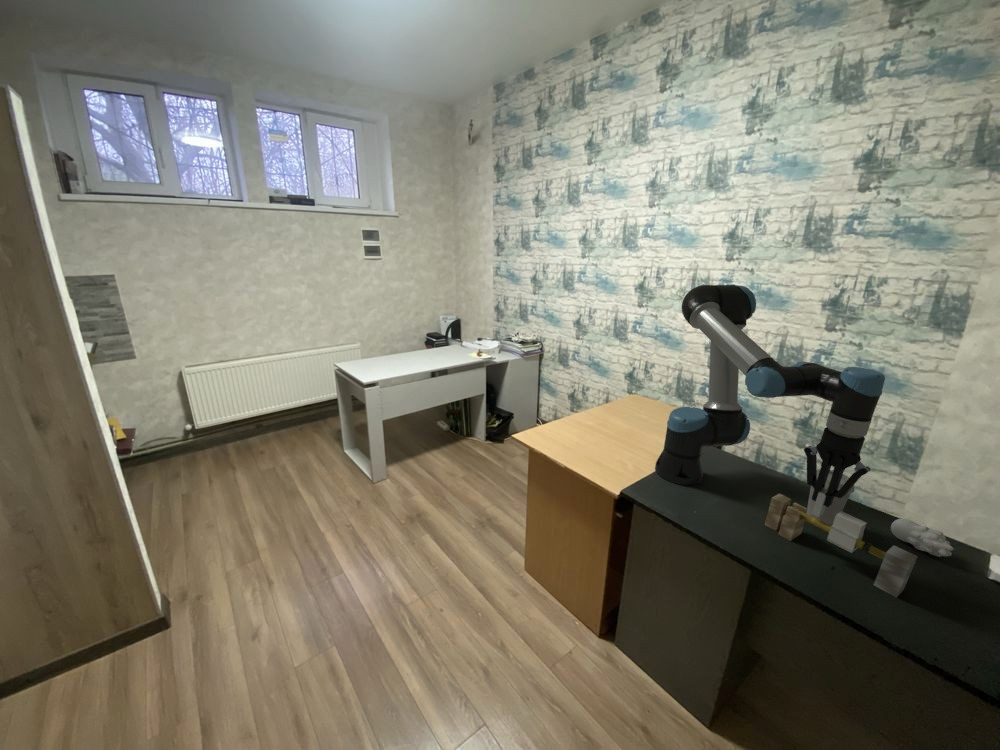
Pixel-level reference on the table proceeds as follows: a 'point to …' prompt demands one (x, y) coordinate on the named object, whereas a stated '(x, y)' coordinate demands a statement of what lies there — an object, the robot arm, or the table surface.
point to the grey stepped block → (846, 531)
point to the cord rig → (894, 560)
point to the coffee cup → (836, 504)
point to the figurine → (922, 537)
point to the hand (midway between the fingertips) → (817, 513)
